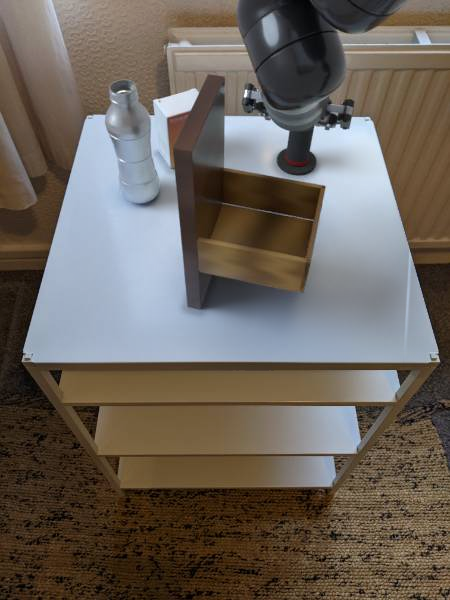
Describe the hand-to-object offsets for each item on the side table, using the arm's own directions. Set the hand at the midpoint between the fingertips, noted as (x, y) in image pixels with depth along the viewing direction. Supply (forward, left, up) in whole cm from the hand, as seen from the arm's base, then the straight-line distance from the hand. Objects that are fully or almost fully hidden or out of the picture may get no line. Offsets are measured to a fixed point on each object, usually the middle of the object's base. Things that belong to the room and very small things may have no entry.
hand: (298, 117), depth 72 cm
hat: (0, -9, -16) cm, 18 cm away
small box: (+20, -6, -16) cm, 26 cm away
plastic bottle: (+24, +6, -16) cm, 29 cm away
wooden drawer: (+2, +19, -16) cm, 25 cm away
